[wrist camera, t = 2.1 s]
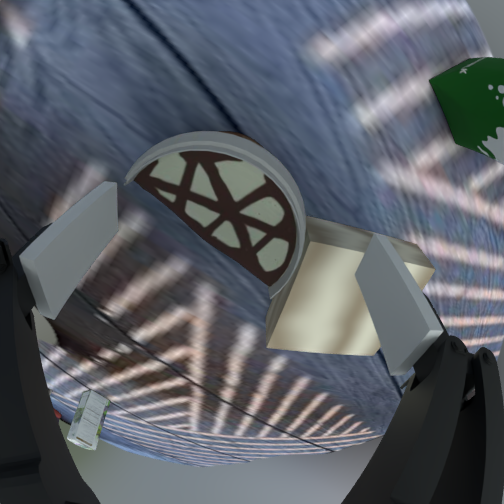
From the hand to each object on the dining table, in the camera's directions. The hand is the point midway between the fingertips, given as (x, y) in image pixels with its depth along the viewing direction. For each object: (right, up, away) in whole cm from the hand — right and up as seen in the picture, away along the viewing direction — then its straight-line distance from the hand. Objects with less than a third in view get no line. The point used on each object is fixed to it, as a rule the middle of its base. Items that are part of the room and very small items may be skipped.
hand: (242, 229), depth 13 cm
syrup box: (-37, -36, +39) cm, 65 cm away
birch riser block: (+10, -4, +17) cm, 20 cm away
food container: (0, +7, +10) cm, 12 cm away
